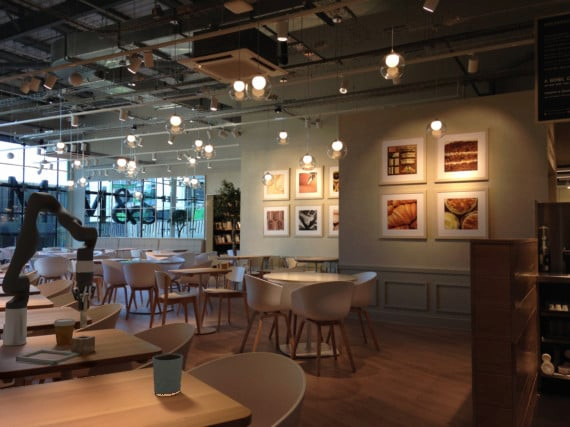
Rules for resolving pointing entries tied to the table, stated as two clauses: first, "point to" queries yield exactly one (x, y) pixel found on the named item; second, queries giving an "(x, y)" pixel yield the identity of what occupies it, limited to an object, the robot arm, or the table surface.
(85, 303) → the dowel
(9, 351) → the table surface
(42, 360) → the tray
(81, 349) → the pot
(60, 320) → the disposable coffee cup
